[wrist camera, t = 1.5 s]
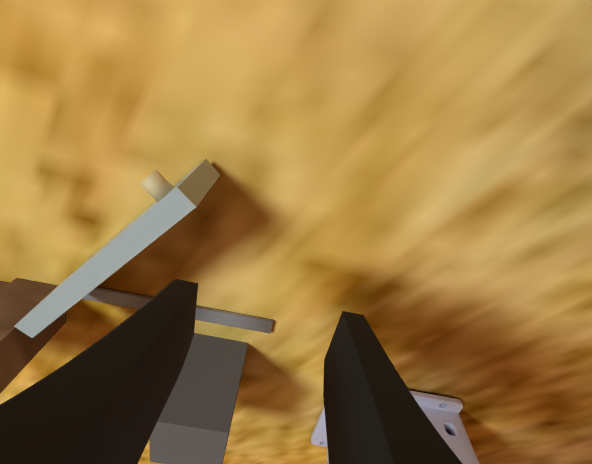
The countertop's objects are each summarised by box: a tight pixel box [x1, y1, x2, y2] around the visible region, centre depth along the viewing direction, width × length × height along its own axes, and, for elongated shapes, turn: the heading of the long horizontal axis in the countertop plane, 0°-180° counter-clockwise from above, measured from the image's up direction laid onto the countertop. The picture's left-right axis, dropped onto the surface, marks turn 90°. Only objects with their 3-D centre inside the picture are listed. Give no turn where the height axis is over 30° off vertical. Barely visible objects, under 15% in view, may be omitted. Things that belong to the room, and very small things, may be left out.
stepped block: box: [150, 333, 248, 464], centre depth 20 cm, size 7×4×6 cm, turn 78°
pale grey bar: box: [14, 159, 220, 338], centre depth 16 cm, size 12×2×4 cm, turn 128°
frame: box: [0, 278, 273, 393], centre depth 18 cm, size 21×4×7 cm, turn 78°
